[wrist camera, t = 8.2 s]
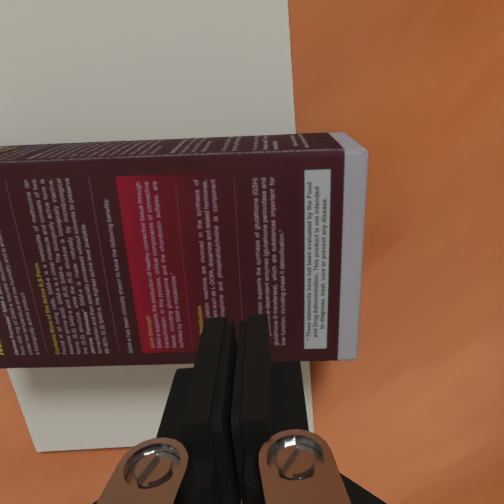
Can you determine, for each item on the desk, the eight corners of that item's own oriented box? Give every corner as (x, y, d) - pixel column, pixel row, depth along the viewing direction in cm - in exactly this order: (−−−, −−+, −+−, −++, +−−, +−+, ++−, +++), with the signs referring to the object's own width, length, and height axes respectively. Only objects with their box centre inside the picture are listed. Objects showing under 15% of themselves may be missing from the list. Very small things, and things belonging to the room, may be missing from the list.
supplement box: (347, 129, 19) (-22, 140, 20) (374, 147, 15) (-105, 160, 15) (339, 309, 22) (21, 315, 23) (359, 368, 18) (-37, 375, 18)
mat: (282, -72, 17) (282, -77, 16) (313, 428, 26) (314, 436, 25) (-122, -22, 18) (-134, -25, 17) (41, 444, 27) (36, 451, 26)
